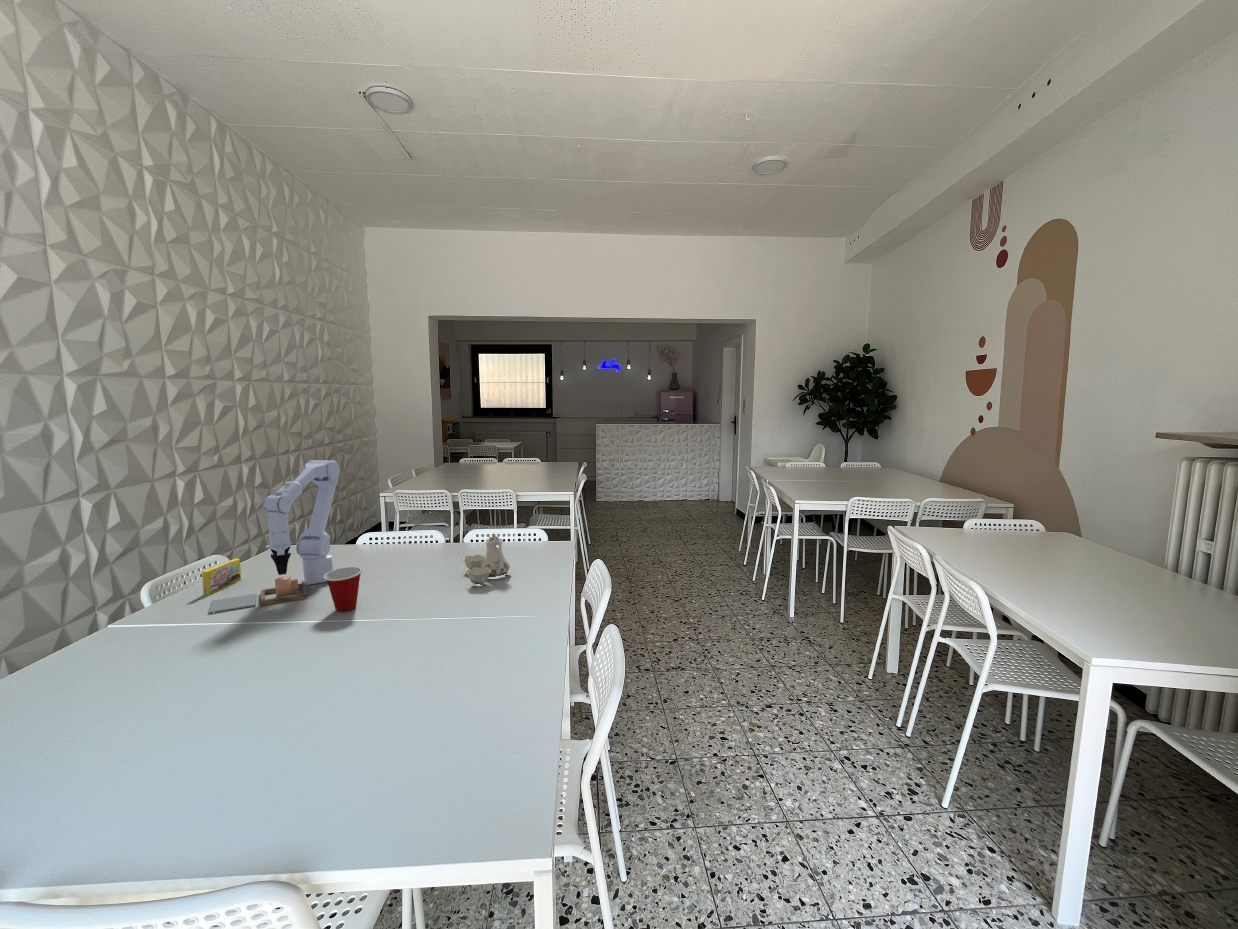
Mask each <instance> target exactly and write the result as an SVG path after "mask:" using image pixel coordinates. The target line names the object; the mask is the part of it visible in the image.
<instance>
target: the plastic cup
mask: <svg viewBox="0 0 1238 929" xmlns="http://www.w3.org/2000/svg"><path fill="white" fill-rule="evenodd" d="M362 572H363V571H362V568H361V567H359V566H345V567H340V568H336V569H333V570H332V571H330V572H328V573H326V574H325V575H324V579H325V580H326V581H327V582H326V583H327V586H328V589H329V592H330V595H331V599H332V602H333V605H334V609H335V611H336V612H338V613H344V612H345V613H346V612H350V611H353V610H356V607H357V604H358V603H357V602H358V597H359V590H360V589H359V588H360V580H361V573H362Z"/></svg>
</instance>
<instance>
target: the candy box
mask: <svg viewBox="0 0 1238 929" xmlns="http://www.w3.org/2000/svg"><path fill="white" fill-rule="evenodd" d="M241 572H242V571H241V559H240V558H234V559H231V560H228V561H226V562H223V563H220V564H219V565H216V566H213V567H211V568H207V569H206V570H203V571H202V574H201V575H202V591H203V592H202V593H203V596H209V595H211V593H212V594H214V593H216V592H218V591H221V590H222V588H223V589H224V588H226V587H229V586H231V585H233V584H236V583H238V582H239V581H241V580H242V573H241ZM213 592H214V593H213Z"/></svg>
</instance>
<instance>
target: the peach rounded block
mask: <svg viewBox="0 0 1238 929" xmlns="http://www.w3.org/2000/svg"><path fill="white" fill-rule="evenodd" d="M274 584H275V587H274V588H276V593H275V598H278V597H284V596H290V595H293V591H295V590H299V589H298V584H299V582H298V578H295V579H292V577H291V576H281V577H277V578H275V579H274Z"/></svg>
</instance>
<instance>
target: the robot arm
mask: <svg viewBox="0 0 1238 929" xmlns="http://www.w3.org/2000/svg"><path fill="white" fill-rule="evenodd" d="M340 473H341V469H340V466H339V463H338V462H337V461H336V460H333V459H331V460H316V459H311V460H309V461H308V462H307V463H305V465H304V469H303V470H302V471H301V472H300V473H299V475H298V476H296V478H295V479H294V481H292V480H291V481H290V480H289V481H286V482H284V485H283V486H282V487H281V488H279V489H278V490H276V491H275V493H274V494H273V495H272V494H271V495H268V496H267V497H265V498H264V500H263V502H262V505H261V507H262V510H263V511H264V513H265V518H266V519H267V524H268V538H269V544H268V545H265V549H270V552H271V554H270V558H271V560H272V561H273V563H274V565H275V568H276V572H277V575H279V576H282V575H283V576H284V575H286V574H287V571H288V564H289V560H290V557H291V555H292V553H291V552H289V551H290V549H291V546H292V543H291V538H290V526H289V513H288V512H289V511H291V509H292V506H293V504H294V502H295V500H297V498H298V497H299V496H300V495H302V493H303V488H304V487H306V486H307V485H308V484H309V483H310V482H313V484H315V485H317V487H318V490H317V495H316V498H315V502H314V505H313V510H312V515H311V518H310V522H309V526H308V529H306V530H305V531H303V532H302V533H300V537H299V539H298V541H297V543H296V545H295V550H296V551H295V552H296V553H297V555H298V556H299V557H300V559H302V571H303V577H302V583H305V585H306V586H309V585H315V584H321V583H327V581H326V580H325V579H324V575H325V574H326V573H328V572H330V571H332V570H334V569H333V559H332V555H331V554H329V553H330V550H331V538H332V537H331V536H330V535H329V534H328V533H327V532H326V528H327V524H328V519H329V516H330V511H331V507H332V504H333V500H334V495H335V492H336V488H337V485H338V481H339V477H340Z"/></svg>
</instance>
